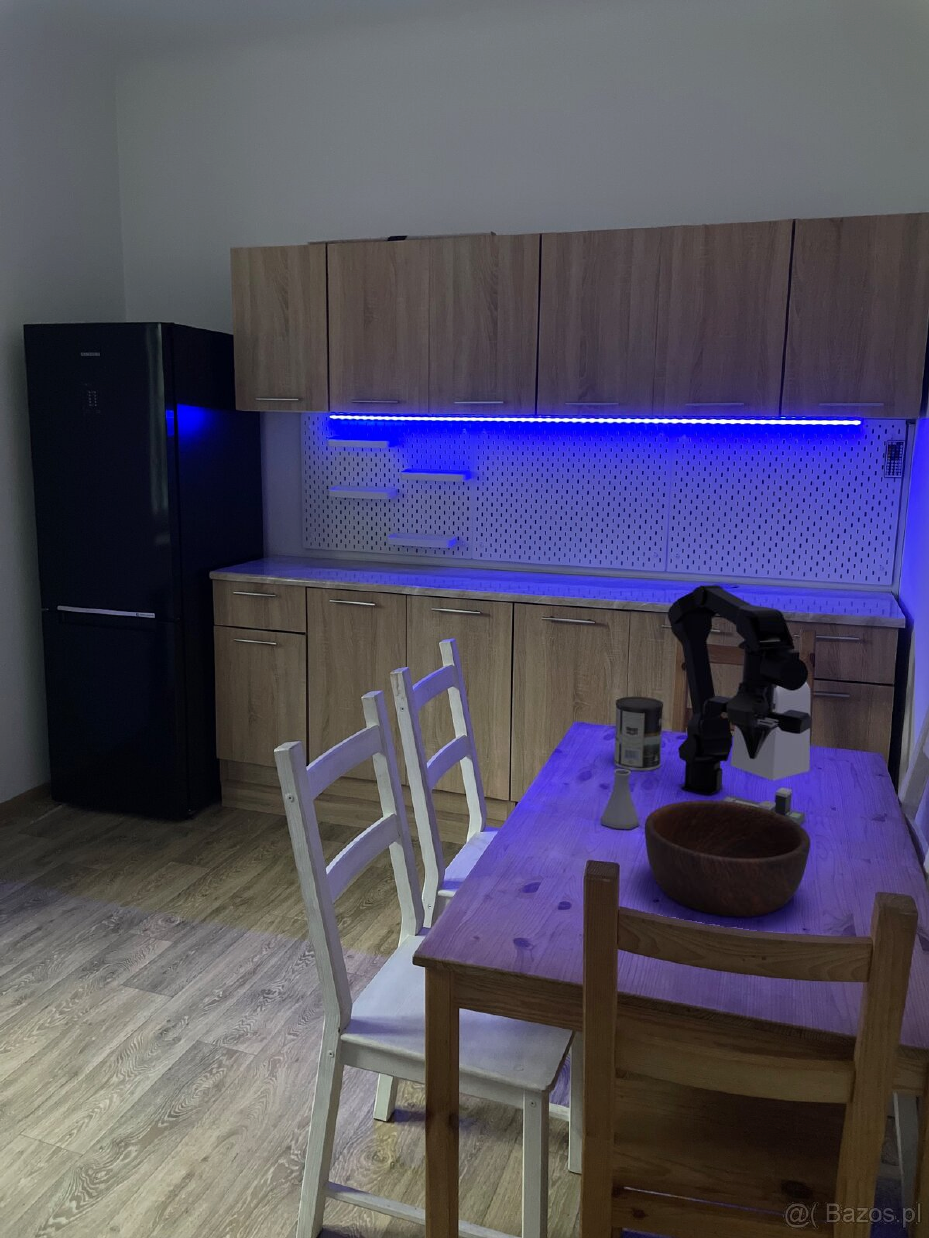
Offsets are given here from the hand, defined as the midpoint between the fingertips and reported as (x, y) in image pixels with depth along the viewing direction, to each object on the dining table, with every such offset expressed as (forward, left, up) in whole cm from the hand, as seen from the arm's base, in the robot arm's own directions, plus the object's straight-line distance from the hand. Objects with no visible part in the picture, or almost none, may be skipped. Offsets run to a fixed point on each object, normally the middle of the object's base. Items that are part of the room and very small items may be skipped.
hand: (752, 758), depth 180 cm
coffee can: (-32, +16, -12) cm, 37 cm away
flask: (-18, -17, -12) cm, 28 cm away
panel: (+1, -5, -12) cm, 13 cm away
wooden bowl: (+8, -31, -12) cm, 35 cm away
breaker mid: (+5, -5, -10) cm, 12 cm away
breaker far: (+5, +3, -10) cm, 12 cm away
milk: (-8, +32, -12) cm, 35 cm away
